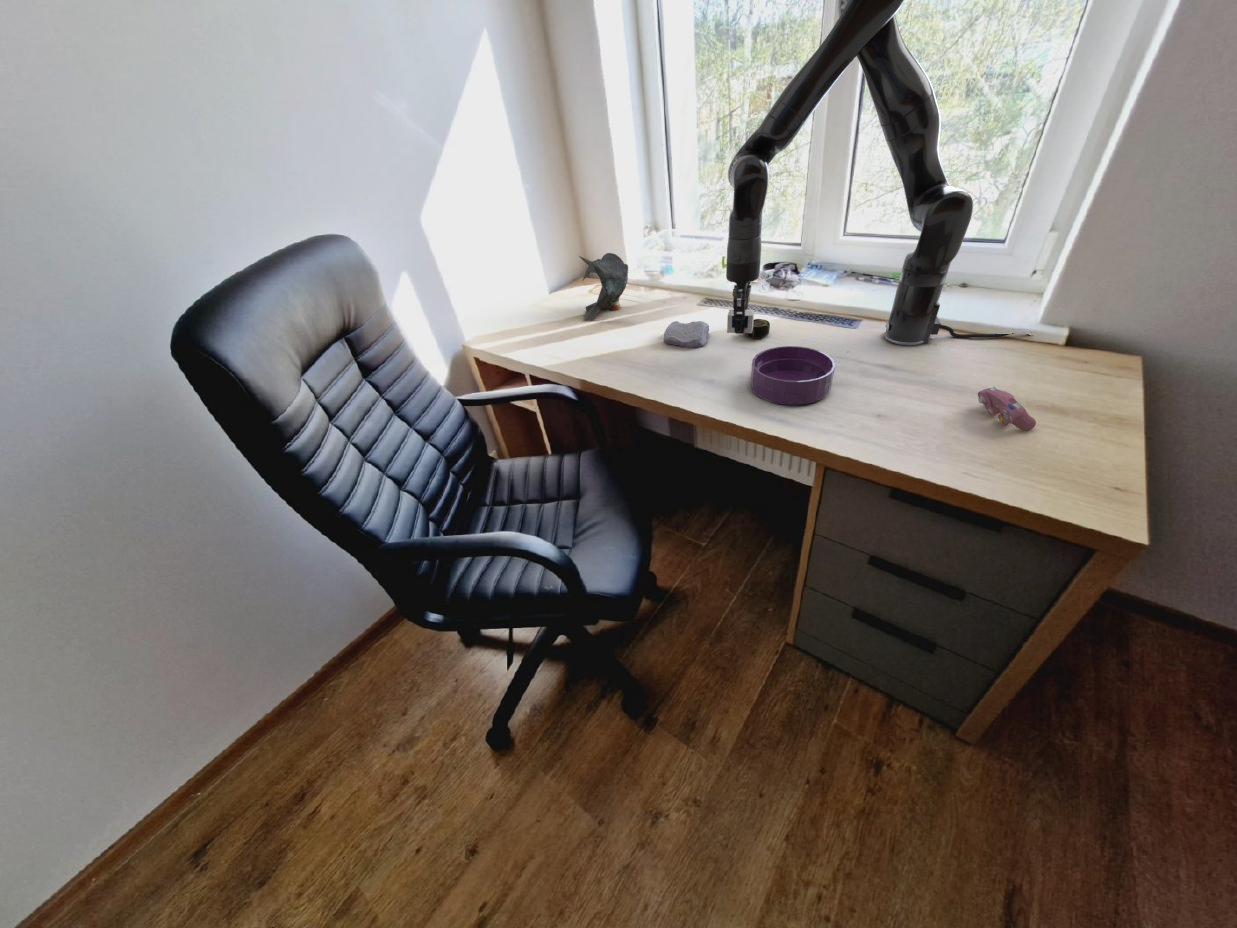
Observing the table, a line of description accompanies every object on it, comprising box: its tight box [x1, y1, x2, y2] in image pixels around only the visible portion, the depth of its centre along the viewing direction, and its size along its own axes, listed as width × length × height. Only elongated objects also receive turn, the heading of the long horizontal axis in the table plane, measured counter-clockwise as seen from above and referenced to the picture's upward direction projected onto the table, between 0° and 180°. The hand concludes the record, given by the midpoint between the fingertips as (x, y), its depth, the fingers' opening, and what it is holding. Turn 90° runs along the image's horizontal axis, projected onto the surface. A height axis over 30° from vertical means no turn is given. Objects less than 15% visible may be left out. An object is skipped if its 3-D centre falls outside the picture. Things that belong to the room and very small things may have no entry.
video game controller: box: [977, 386, 1037, 431], centre depth 87 cm, size 10×5×7 cm, turn 5°
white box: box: [726, 309, 755, 334], centre depth 115 cm, size 6×4×4 cm, turn 73°
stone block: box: [663, 320, 710, 349], centre depth 130 cm, size 12×5×10 cm
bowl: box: [749, 345, 836, 406], centre depth 104 cm, size 17×17×6 cm
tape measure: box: [742, 318, 771, 339], centre depth 127 cm, size 7×7×4 cm
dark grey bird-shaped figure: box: [578, 252, 629, 322], centre depth 150 cm, size 14×15×18 cm
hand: (740, 329), depth 117 cm, fingers closed on white box, 3 cm apart
